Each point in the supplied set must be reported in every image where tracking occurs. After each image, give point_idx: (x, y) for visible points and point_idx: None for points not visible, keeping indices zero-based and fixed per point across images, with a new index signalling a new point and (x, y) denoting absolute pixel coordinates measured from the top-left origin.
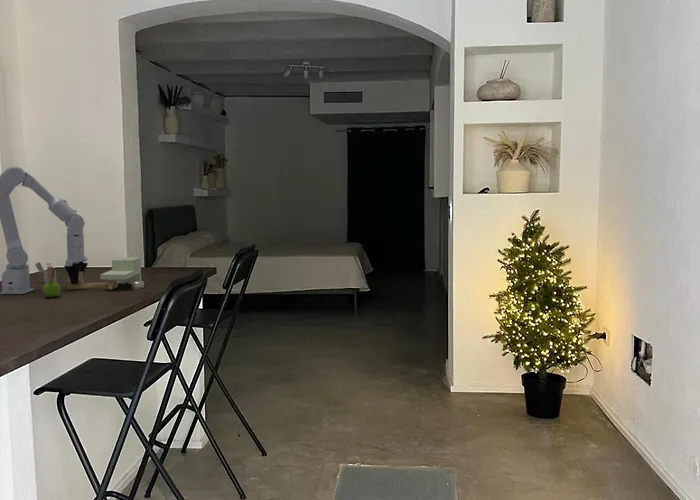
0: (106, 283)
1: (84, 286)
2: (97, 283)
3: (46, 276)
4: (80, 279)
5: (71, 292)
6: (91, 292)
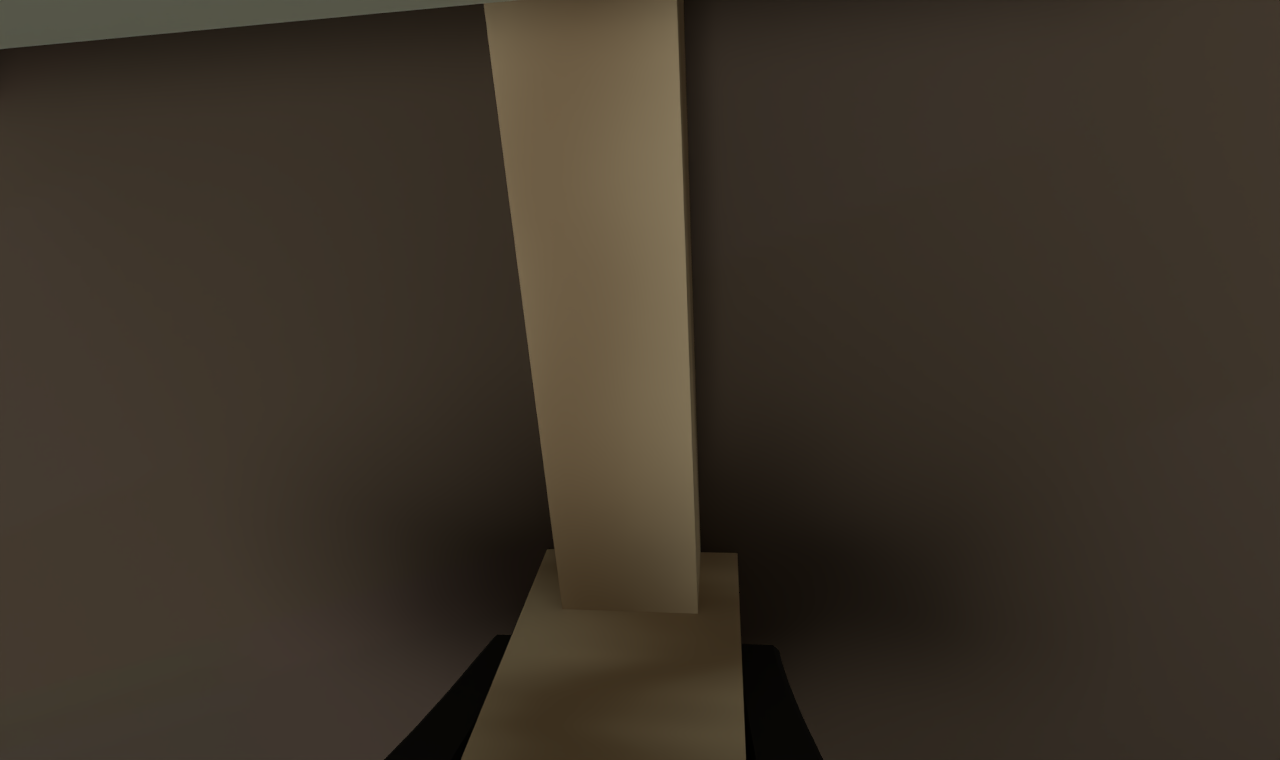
0: (618, 38)
1: (698, 509)
2: (636, 286)
3: None
4: (663, 681)
5: (1159, 559)
6: (1271, 170)
